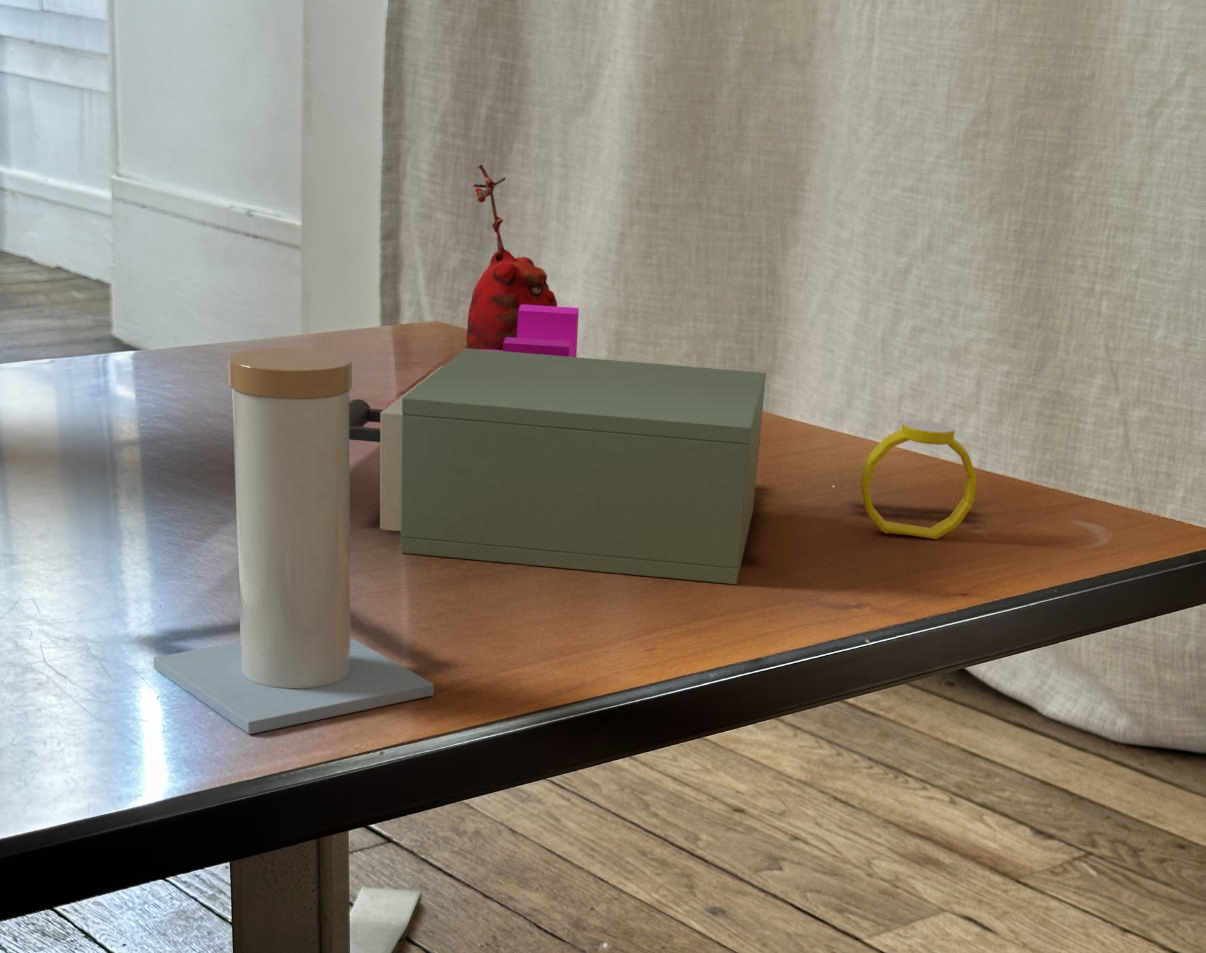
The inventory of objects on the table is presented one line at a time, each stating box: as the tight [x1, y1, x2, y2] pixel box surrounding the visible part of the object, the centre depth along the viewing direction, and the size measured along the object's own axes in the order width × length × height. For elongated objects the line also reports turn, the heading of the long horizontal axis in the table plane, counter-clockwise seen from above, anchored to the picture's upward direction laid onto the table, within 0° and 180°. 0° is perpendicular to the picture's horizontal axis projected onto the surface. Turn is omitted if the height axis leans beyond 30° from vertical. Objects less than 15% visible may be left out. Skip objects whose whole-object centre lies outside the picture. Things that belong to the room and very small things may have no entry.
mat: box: [153, 636, 435, 735], centre depth 67 cm, size 8×8×1 cm
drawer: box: [349, 364, 445, 532], centre depth 89 cm, size 20×13×6 cm
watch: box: [859, 419, 978, 540], centre depth 91 cm, size 6×3×6 cm, turn 87°
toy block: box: [481, 304, 580, 357], centre depth 105 cm, size 15×6×8 cm, turn 179°
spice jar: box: [228, 347, 353, 689], centre depth 64 cm, size 4×4×12 cm
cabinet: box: [400, 347, 767, 585], centre depth 88 cm, size 17×15×8 cm
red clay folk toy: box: [465, 164, 558, 350], centre depth 121 cm, size 8×7×15 cm
